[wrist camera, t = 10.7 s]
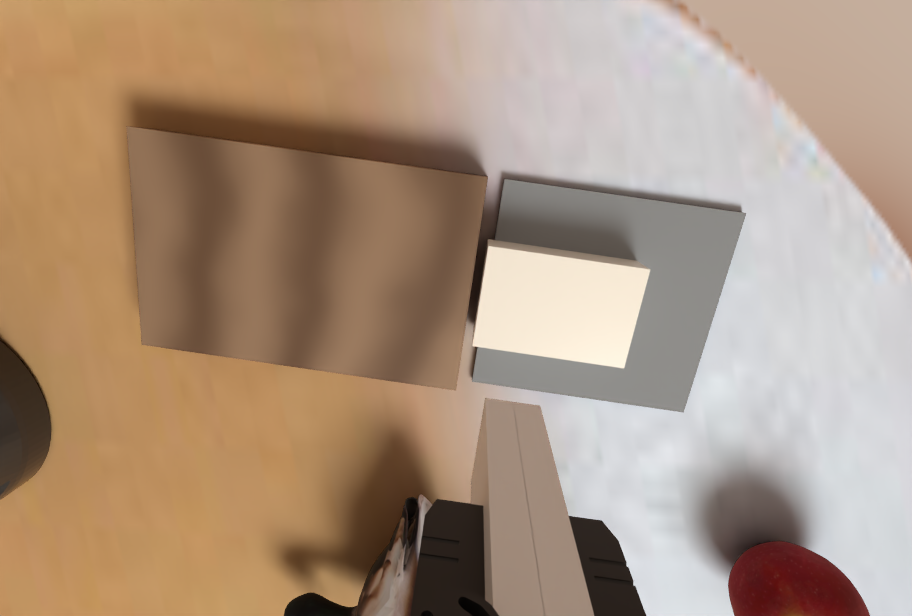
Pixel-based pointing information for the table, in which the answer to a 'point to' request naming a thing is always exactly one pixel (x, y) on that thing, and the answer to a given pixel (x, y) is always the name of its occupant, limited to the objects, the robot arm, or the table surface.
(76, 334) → the table surface
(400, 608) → the decorative duck model
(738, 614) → the apple
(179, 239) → the brown wooden board
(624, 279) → the tile
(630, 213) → the mat
